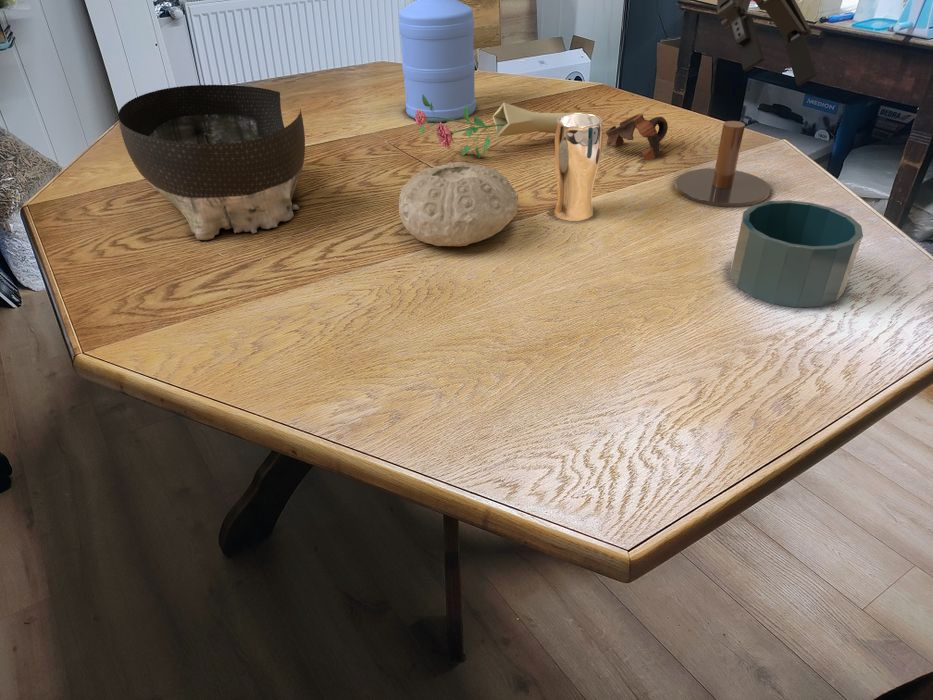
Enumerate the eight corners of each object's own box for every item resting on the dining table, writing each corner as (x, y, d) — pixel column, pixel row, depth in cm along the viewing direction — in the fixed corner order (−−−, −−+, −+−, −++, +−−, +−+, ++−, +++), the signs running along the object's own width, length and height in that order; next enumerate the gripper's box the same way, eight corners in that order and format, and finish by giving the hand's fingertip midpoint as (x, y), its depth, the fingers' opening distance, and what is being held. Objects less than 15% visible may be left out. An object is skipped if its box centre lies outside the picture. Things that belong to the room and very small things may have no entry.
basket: (310, 156, 133) (295, 68, 124) (321, 233, 105) (303, 128, 96) (157, 173, 128) (130, 83, 119) (127, 258, 101) (87, 150, 91)
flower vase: (578, 179, 138) (423, 177, 121) (550, 144, 145) (399, 138, 128) (603, 128, 130) (441, 118, 113) (573, 93, 137) (415, 79, 120)
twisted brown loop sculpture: (637, 171, 123) (619, 128, 120) (609, 177, 132) (591, 137, 129) (687, 140, 126) (670, 98, 123) (655, 149, 134) (639, 109, 132)
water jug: (483, 119, 148) (480, -27, 132) (411, 126, 146) (400, -22, 129) (467, 99, 161) (463, -37, 144) (401, 105, 158) (389, -32, 142)
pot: (839, 266, 92) (858, 207, 87) (844, 319, 82) (866, 256, 77) (732, 252, 96) (745, 195, 91) (725, 300, 86) (739, 239, 81)
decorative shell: (408, 208, 112) (403, 148, 106) (517, 207, 111) (518, 147, 105) (393, 261, 97) (386, 194, 91) (518, 261, 96) (519, 194, 90)
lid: (769, 180, 116) (785, 113, 110) (767, 215, 105) (784, 144, 99) (680, 171, 121) (690, 106, 114) (669, 204, 110) (679, 135, 103)
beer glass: (564, 228, 104) (569, 130, 95) (543, 210, 109) (547, 116, 100) (604, 220, 106) (613, 123, 97) (582, 203, 111) (588, 109, 102)
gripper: (766, -23, 109) (802, 99, 106) (666, -66, 94) (705, 74, 91) (811, -57, 103) (851, 72, 100) (712, -108, 88) (755, 40, 85)
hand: (781, 73), depth 95 cm, fingers open, 13 cm apart
